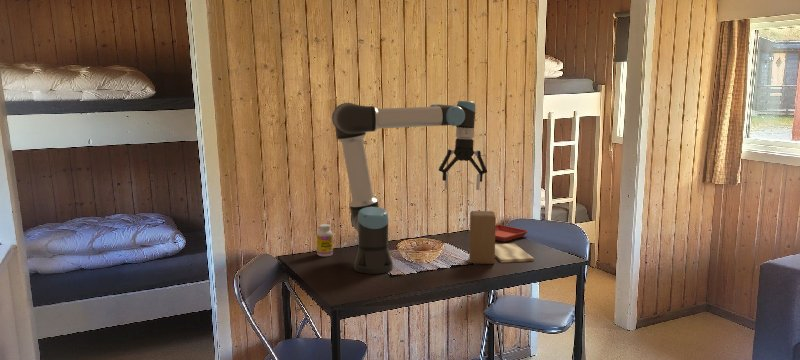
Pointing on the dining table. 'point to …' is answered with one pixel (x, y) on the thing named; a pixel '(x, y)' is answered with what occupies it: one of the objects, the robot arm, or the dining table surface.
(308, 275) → the dining table surface
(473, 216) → the block
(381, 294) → the dining table surface
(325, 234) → the supplement bottle
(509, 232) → the plant saucer
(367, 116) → the robot arm
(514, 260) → the board
